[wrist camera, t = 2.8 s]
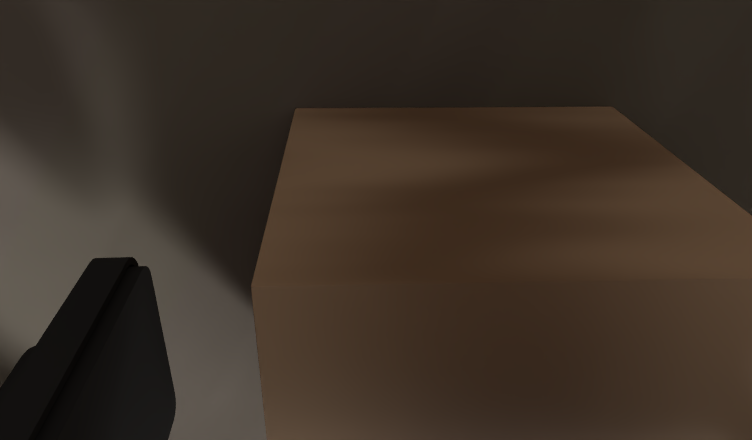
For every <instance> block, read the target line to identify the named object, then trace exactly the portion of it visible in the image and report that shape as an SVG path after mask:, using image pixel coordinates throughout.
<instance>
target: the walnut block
mask: <svg viewBox="0 0 752 440" xmlns="http://www.w3.org/2000/svg"><path fill="white" fill-rule="evenodd" d="M251 292H252V302H253V311H254V321H255V330H256V340H257V349H258V359H259V368H260V378H261V388H262V397H263V407H264V416H265V426H266V435H267V440H752V216H751V215H750V214H749V213H748V212H746V211H745V210H744V209H743V208H741V207H740V206H739V205H737V204H736V203H735V202H734V201H732V200H731V199H730V198H728V197H727V196H726V195H725V194H723V193H722V192H721V191H720V190H718V189H717V188H716V187H714V186H713V185H712V184H711V183H709V182H708V181H707V180H706V179H704V178H703V177H702V176H700V175H699V174H698V173H697V172H695V171H694V170H693V169H691V168H690V167H689V166H688V165H686V164H685V163H684V162H683V161H681V160H680V159H679V158H677V157H676V156H675V155H674V154H672V153H671V152H670V151H668V150H667V149H666V148H665V147H663V146H662V145H661V144H660V143H658V142H657V141H656V140H654V139H653V138H652V137H651V136H649V135H648V134H647V133H646V132H644V131H643V130H642V129H640V128H639V127H638V126H637V125H635V124H634V123H633V122H631V121H630V120H629V119H628V118H626V117H625V116H624V115H623V114H621V113H620V112H619V111H617V110H616V109H615V108H614V107H433V108H295V112H294V116H293V120H292V124H291V128H290V132H289V136H288V140H287V144H286V148H285V152H284V156H283V160H282V164H281V168H280V172H279V176H278V180H277V184H276V188H275V192H274V196H273V200H272V204H271V208H270V212H269V216H268V220H267V224H266V228H265V232H264V236H263V240H262V244H261V248H260V252H259V256H258V260H257V264H256V268H255V272H254V276H253V280H252V284H251Z"/></svg>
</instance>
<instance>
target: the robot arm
mask: <svg viewBox="0 0 752 440" xmlns="http://www.w3.org/2000/svg"><path fill="white" fill-rule="evenodd" d="M175 409H176V398H175V392H174V387H173V382H172V377H171V372H170V367H169V362H168V357H167V352H166V347H165V342H164V337H163V332H162V327H161V322H160V317H159V311H158V306H157V301H156V296H155V291H154V286H153V281H152V276H151V273H150V270H149V268H148V267H147V266H138V263H137V261H136V260H135V259H134V258H133V257H121V258H95V259H93V260H92V261H91V262H90V263H89V265H88V266H87V268H86V269H85V271H84V272H83V274H82V275H81V277H80V278H79V280H78V282H77V283H76V285H75V286H74V288H73V289H72V291H71V292H70V294H69V295H68V297H67V298H66V300H65V302H64V303H63V305H62V306H61V308H60V309H59V311H58V312H57V314H56V315H55V317H54V318H53V320H52V322H51V323H50V325H49V326H48V328H47V329H46V331H45V332H44V334H43V335H42V337H41V339H40V340H39V342H38V343H37V345H36V346H34V347H32V348H29V349H28V350H27V351H26V352H25V353H24V354H23V355H22V357H21V358H20V360H19V361H18V363H17V364H16V366H15V367H14V369H13V370H12V372H11V373H10V375H9V376H8V378H7V379H6V381H5V382H4V384H3V385H2V387H1V388H0V440H168V438H169V434H170V431H171V428H172V424H173V421H174V417H175Z"/></svg>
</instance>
